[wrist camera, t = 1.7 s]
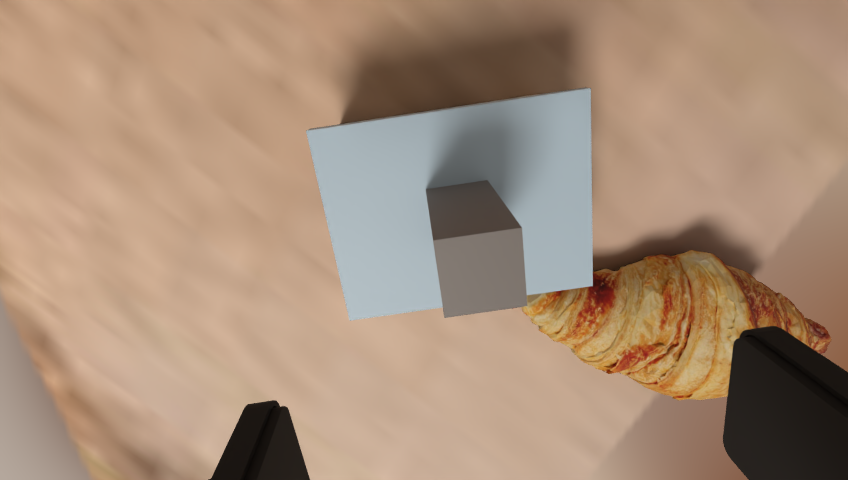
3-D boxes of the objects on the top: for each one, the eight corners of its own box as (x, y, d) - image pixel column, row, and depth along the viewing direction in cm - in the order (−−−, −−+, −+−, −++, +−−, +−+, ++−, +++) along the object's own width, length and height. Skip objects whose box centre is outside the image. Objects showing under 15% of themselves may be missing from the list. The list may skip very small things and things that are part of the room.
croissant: (499, 304, 36) (507, 403, 31) (537, 215, 28) (556, 326, 23) (754, 329, 37) (805, 430, 32) (856, 251, 30) (944, 364, 24)
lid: (584, 87, 21) (677, 96, 14) (587, 279, 25) (662, 367, 17) (309, 128, 21) (258, 159, 14) (351, 313, 25) (328, 413, 18)
